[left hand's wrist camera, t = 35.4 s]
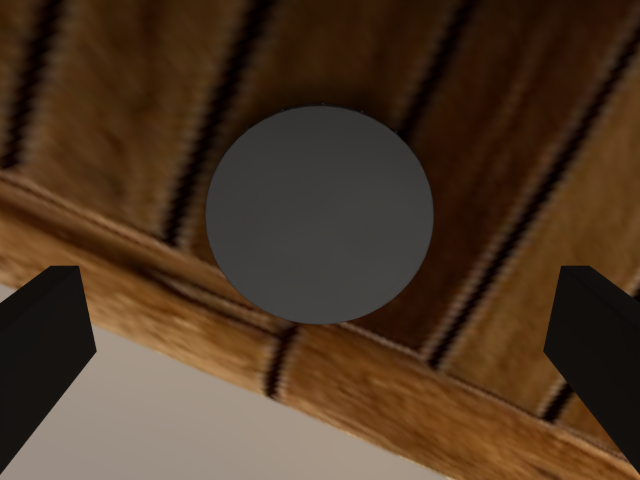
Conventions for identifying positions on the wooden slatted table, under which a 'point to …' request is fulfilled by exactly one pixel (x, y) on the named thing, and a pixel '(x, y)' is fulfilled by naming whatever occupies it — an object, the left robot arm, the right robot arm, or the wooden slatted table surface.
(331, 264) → the lid
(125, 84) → the wooden slatted table surface
